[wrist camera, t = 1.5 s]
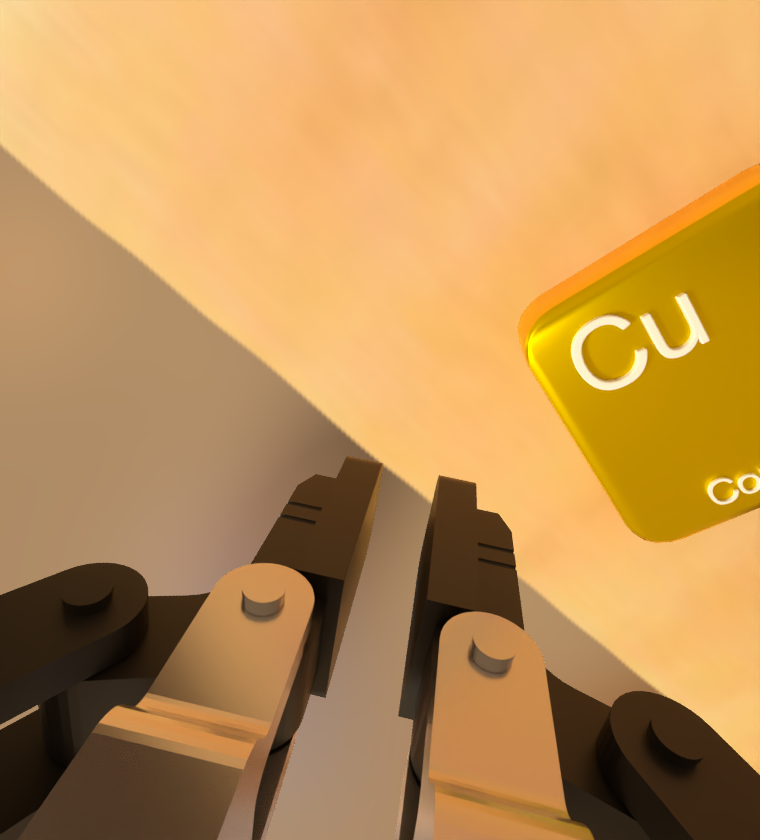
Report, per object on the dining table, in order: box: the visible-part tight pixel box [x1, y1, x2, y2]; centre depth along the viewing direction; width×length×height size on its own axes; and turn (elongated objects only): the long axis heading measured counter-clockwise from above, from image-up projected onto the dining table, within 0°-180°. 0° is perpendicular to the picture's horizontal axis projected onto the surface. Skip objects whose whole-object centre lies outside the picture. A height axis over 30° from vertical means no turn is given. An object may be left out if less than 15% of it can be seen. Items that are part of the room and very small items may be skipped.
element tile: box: [518, 165, 760, 543], centre depth 27 cm, size 15×15×5 cm
